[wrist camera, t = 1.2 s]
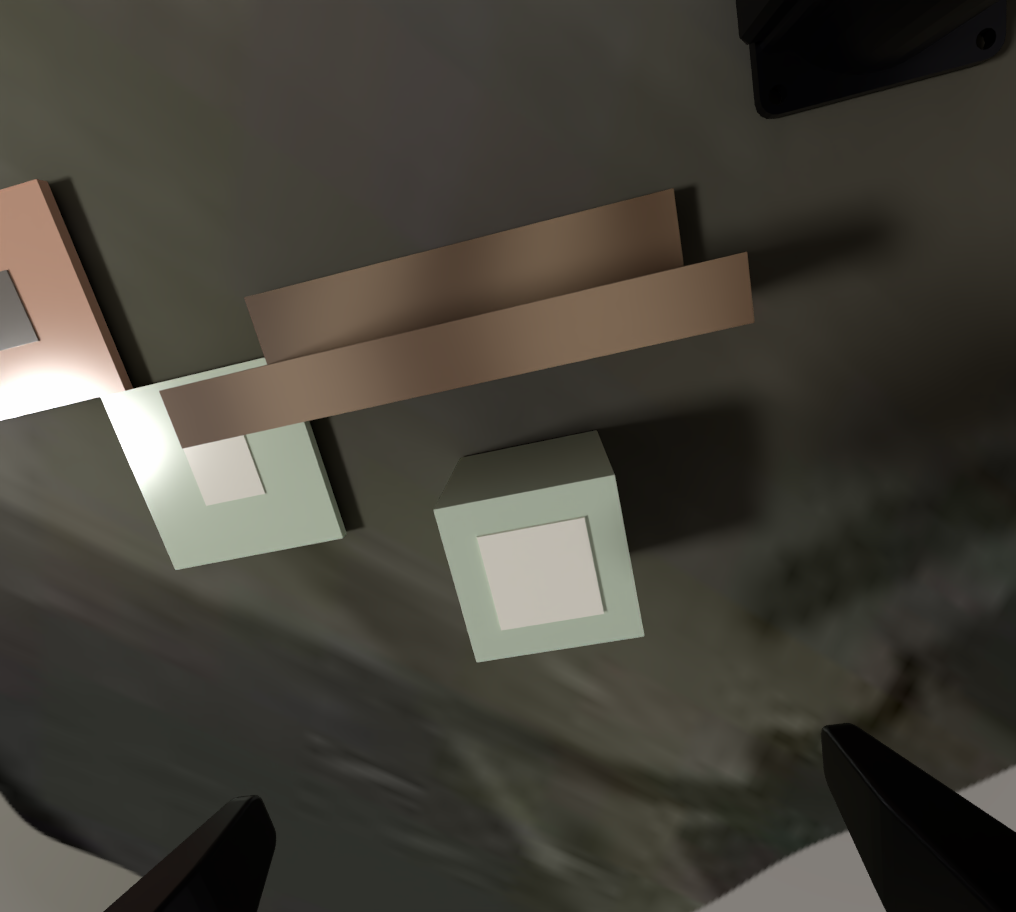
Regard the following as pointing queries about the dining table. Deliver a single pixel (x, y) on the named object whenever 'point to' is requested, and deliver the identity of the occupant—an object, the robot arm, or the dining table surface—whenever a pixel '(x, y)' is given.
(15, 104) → the dining table surface
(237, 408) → the walnut screen
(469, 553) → the sage block
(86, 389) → the terracotta pad
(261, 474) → the sage pad
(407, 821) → the dining table surface
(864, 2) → the robot arm
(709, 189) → the dining table surface
